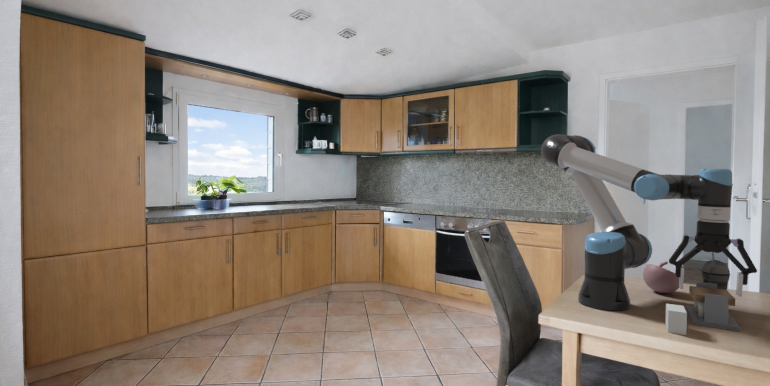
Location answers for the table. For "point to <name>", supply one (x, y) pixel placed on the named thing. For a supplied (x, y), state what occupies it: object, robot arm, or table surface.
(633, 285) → the table surface
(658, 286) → the mortar and pestle
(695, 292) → the board
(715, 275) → the beverage cup
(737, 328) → the cradle
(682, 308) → the grey rectangular block
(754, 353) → the table surface
